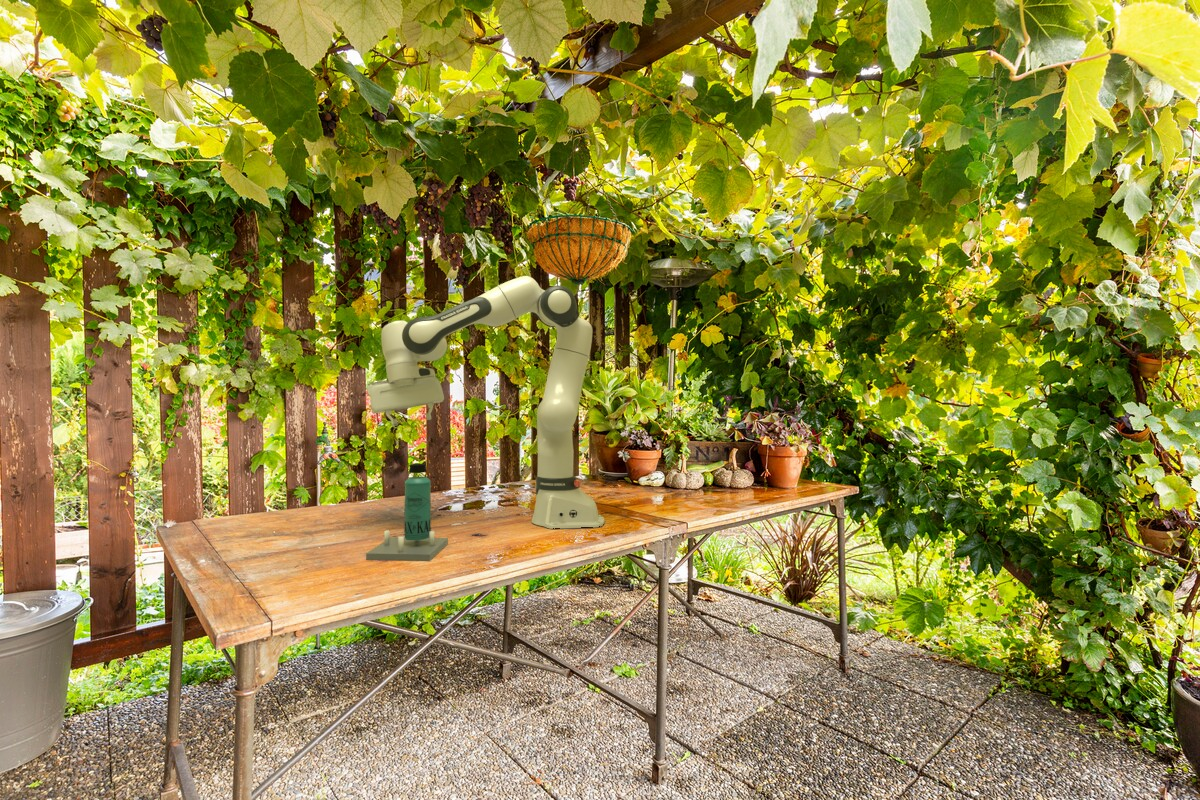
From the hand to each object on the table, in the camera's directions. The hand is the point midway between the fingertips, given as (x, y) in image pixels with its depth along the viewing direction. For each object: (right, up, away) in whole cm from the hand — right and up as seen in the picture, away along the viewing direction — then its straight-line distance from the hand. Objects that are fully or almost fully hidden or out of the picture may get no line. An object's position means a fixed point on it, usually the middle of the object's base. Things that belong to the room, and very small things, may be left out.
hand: (412, 422), depth 159 cm
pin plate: (+7, -31, -22) cm, 39 cm away
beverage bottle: (+9, -30, -21) cm, 37 cm away
